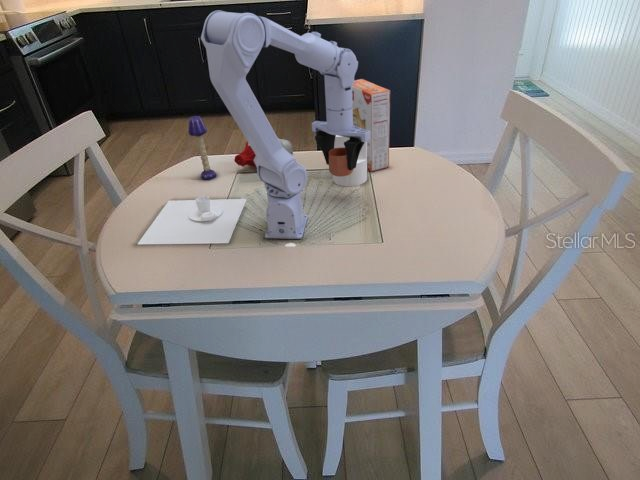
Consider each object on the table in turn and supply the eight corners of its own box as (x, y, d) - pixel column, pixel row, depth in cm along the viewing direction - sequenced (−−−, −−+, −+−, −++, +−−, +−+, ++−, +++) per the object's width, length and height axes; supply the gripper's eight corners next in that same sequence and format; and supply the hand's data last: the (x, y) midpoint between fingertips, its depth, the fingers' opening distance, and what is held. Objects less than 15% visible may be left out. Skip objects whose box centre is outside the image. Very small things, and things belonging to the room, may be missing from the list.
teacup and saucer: (217, 224, 103) (214, 208, 101) (183, 225, 104) (179, 209, 102) (226, 205, 111) (223, 190, 109) (194, 206, 111) (191, 191, 109)
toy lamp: (214, 180, 124) (202, 119, 114) (197, 181, 124) (183, 120, 115) (217, 173, 128) (206, 113, 118) (201, 174, 128) (188, 114, 119)
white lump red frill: (297, 163, 129) (250, 184, 123) (277, 151, 137) (233, 170, 131) (290, 133, 123) (241, 154, 118) (271, 123, 131) (224, 142, 126)
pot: (352, 177, 104) (352, 156, 101) (328, 177, 105) (327, 156, 102) (354, 167, 109) (354, 147, 106) (330, 167, 109) (329, 147, 107)
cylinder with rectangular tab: (367, 171, 123) (367, 127, 116) (366, 186, 115) (366, 140, 109) (333, 171, 124) (331, 128, 117) (331, 186, 116) (328, 141, 110)
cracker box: (345, 155, 133) (343, 81, 121) (363, 151, 134) (363, 77, 123) (370, 173, 122) (370, 93, 110) (389, 168, 124) (391, 89, 112)
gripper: (378, 106, 97) (377, 166, 104) (323, 98, 105) (326, 153, 112) (359, 116, 93) (360, 177, 100) (304, 106, 100) (308, 164, 108)
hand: (341, 165), depth 106 cm, fingers closed on pot, 6 cm apart
